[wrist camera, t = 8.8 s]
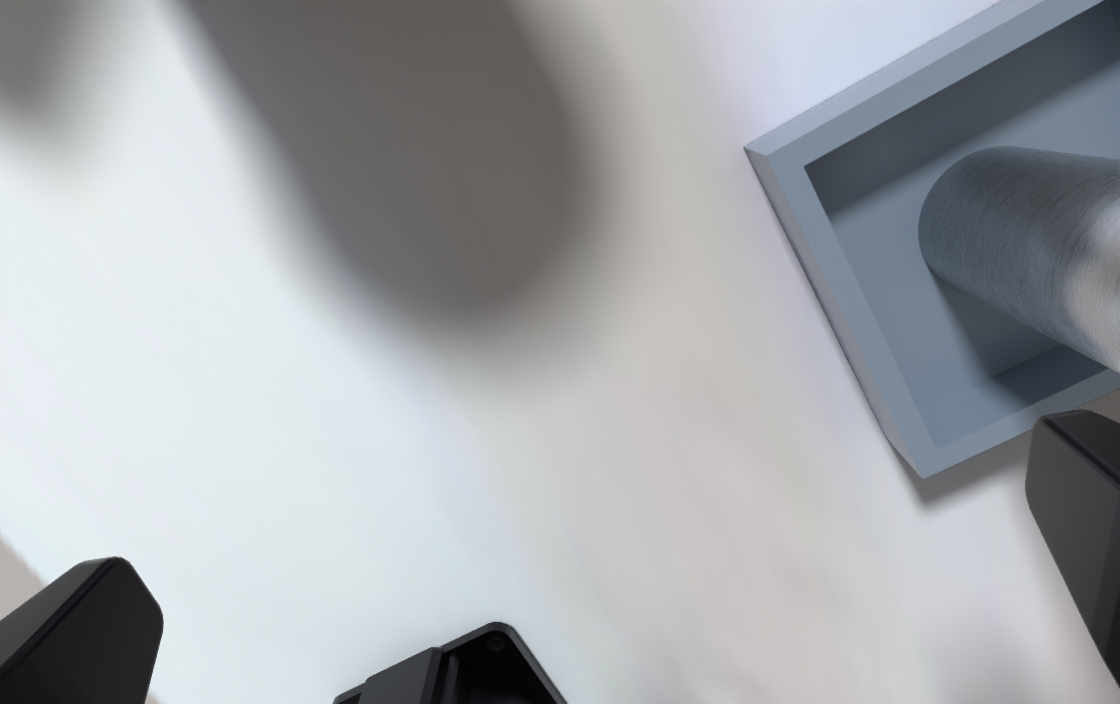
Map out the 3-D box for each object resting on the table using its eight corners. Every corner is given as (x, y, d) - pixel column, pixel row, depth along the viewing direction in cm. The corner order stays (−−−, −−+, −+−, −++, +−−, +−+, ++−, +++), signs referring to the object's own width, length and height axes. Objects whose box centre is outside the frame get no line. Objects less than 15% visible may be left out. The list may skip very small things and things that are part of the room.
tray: (1213, 280, 21) (1296, 305, 18) (885, 437, 22) (922, 479, 20) (1102, -57, 18) (1182, -78, 16) (743, 146, 20) (766, 156, 17)
